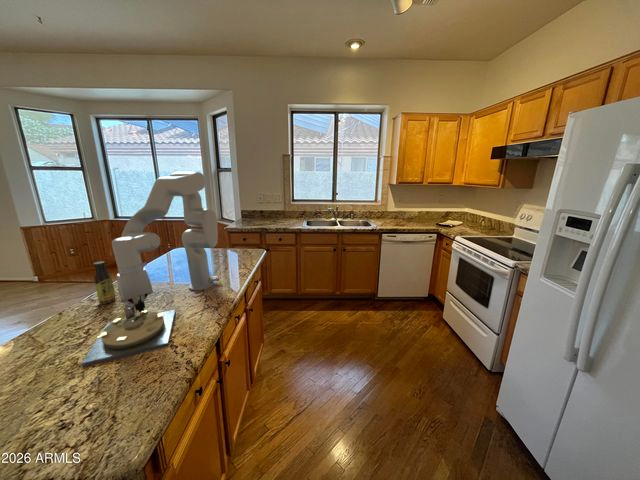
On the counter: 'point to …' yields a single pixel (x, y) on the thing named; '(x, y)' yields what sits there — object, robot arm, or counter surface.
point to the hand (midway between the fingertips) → (141, 310)
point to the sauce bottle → (103, 284)
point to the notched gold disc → (132, 329)
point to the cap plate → (104, 354)
